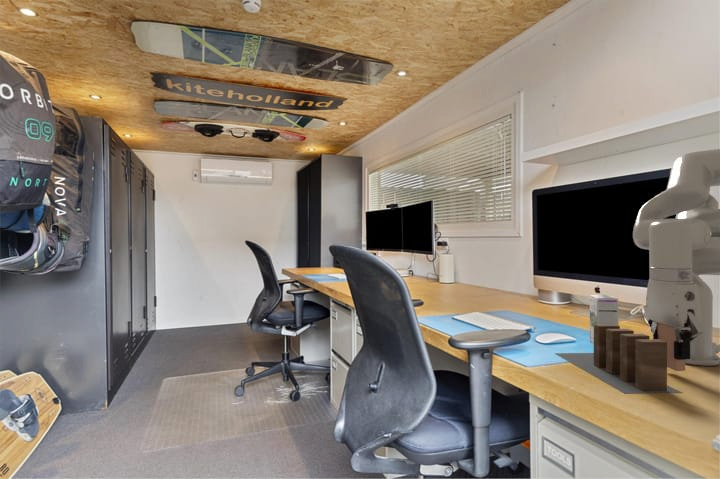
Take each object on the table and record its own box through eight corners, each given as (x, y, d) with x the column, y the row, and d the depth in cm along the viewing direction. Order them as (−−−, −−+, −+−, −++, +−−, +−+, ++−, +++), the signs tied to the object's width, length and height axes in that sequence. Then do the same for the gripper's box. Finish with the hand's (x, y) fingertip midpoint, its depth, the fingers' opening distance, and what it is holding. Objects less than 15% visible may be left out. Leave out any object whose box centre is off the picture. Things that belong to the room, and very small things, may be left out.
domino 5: (666, 362, 88) (665, 320, 88) (685, 370, 83) (684, 326, 83) (657, 362, 88) (657, 320, 88) (676, 371, 83) (676, 326, 83)
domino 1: (593, 365, 92) (593, 324, 92) (613, 364, 92) (613, 324, 92) (599, 368, 90) (599, 326, 90) (619, 367, 90) (619, 326, 90)
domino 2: (606, 371, 87) (606, 328, 87) (627, 371, 88) (627, 328, 87) (612, 374, 85) (612, 331, 85) (633, 374, 86) (633, 330, 85)
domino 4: (635, 387, 78) (635, 339, 78) (658, 387, 79) (659, 339, 78) (642, 391, 76) (642, 342, 76) (666, 390, 77) (667, 342, 76)
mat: (598, 354, 102) (598, 352, 102) (683, 394, 76) (683, 392, 76) (554, 354, 101) (554, 353, 101) (624, 395, 75) (624, 393, 75)
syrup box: (619, 349, 106) (619, 297, 106) (596, 347, 108) (596, 297, 107) (610, 343, 112) (610, 294, 112) (588, 342, 113) (588, 294, 113)
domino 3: (619, 379, 83) (620, 333, 83) (642, 378, 83) (642, 333, 83) (626, 382, 81) (626, 336, 81) (649, 382, 81) (649, 336, 81)
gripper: (724, 280, 76) (724, 368, 77) (656, 269, 93) (656, 342, 94) (687, 281, 76) (688, 370, 77) (626, 271, 93) (627, 343, 94)
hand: (671, 353), depth 86 cm, fingers closed on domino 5, 4 cm apart
